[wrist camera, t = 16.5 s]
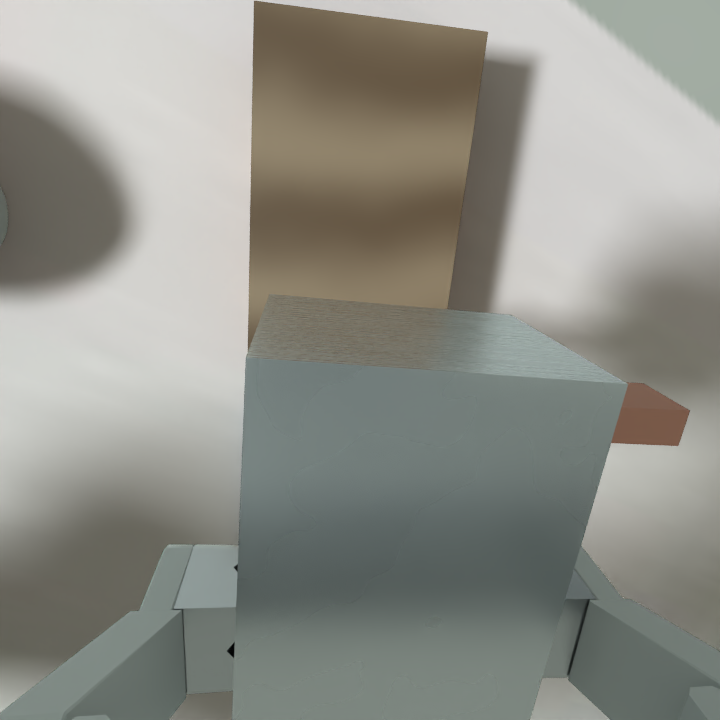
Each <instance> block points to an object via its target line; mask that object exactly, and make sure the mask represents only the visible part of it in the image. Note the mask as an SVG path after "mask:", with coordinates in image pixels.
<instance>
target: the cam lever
mask: <svg viewBox="0 0 720 720" xmlns="http://www.w3.org/2000/svg"><path fill="white" fill-rule="evenodd" d="M626 383H627V382H626ZM627 384H628V386H627V390H626V393H625V397H624V400H623V403H622V407H621V410H620V414H619V417H618V421H617V424H616V427H615V431H614V434H613V438H612V441H611V443H625V444H647V445H670V446H678V445H679V442H680V439H681V436H682V433H683V430H684V427H685V424H686V421H687V418H688V415H689V412H690V410H688V409H686V408H684V407H683V406H681V405H679V404H678V403H676V402H674V401H673V400H671V399H669V398H667V397H666V396H664V395H662V394H661V393H659V392H657V391H655V390H654V389H652V388H650V387H649V386H647V385H645V384H644V383H627Z"/></svg>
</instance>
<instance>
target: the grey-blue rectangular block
mask: <svg viewBox="0 0 720 720" xmlns="http://www.w3.org/2000/svg"><path fill="white" fill-rule="evenodd" d="M627 386H628V384H627V383H626V382H624V381H622V380H621V379H619V378H617V377H616V376H614V375H612V374H610V373H609V372H607V371H605V370H604V369H602V368H600V367H599V366H597V365H595V364H594V363H592V362H590V361H588V360H587V359H585V358H583V357H582V356H580V355H578V354H577V353H575V352H573V351H572V350H570V349H568V348H566V347H565V346H563V345H561V344H560V343H558V342H556V341H555V340H553V339H551V338H550V337H548V336H546V335H544V334H543V333H541V332H539V331H538V330H536V329H534V328H533V327H531V326H529V325H528V324H526V323H524V322H522V321H521V320H519V319H517V318H516V317H514V316H512V315H507V314H495V313H484V312H472V311H461V310H449V309H437V308H426V307H414V306H403V305H391V304H380V303H368V302H356V301H345V300H333V299H322V298H310V297H299V296H287V295H276V294H269V297H268V299H267V302H266V305H265V307H264V310H263V313H262V315H261V318H260V321H259V323H258V326H257V329H256V332H255V334H254V337H253V340H252V342H251V345H250V348H249V350H248V353H247V356H246V368H245V394H244V419H243V445H242V471H241V496H240V522H239V547H238V573H237V599H236V624H235V650H234V675H233V701H232V720H530V717H531V714H532V711H533V707H534V704H535V700H536V697H537V694H538V690H539V687H540V683H541V680H542V677H543V673H544V670H545V666H546V663H547V659H548V656H549V653H550V649H551V646H552V642H553V639H554V636H555V632H556V629H557V625H558V622H559V619H560V615H561V612H562V608H563V605H564V601H565V598H566V595H567V591H568V588H569V584H570V581H571V578H572V574H573V571H574V567H575V564H576V560H577V557H578V554H579V550H580V547H581V543H582V540H583V537H584V533H585V530H586V526H587V523H588V520H589V516H590V513H591V509H592V506H593V502H594V499H595V496H596V492H597V489H598V485H599V482H600V479H601V475H602V472H603V468H604V465H605V462H606V458H607V455H608V451H609V448H610V444H611V441H612V438H613V434H614V431H615V427H616V424H617V421H618V417H619V414H620V410H621V407H622V403H623V400H624V397H625V393H626V390H627Z"/></svg>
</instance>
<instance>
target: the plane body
mask: <svg viewBox="0 0 720 720" xmlns="http://www.w3.org/2000/svg"><path fill="white" fill-rule="evenodd" d="M487 35H488V32H485V31H477V30H470V29H462V28H455V27H447V26H440V25H432V24H425V23H417V22H410V21H402V20H395V19H387V18H380V17H372V16H365V15H358V14H350V13H343V12H335V11H328V10H320V9H313V8H305V7H298V6H290V5H283V4H275V3H268V2H260V1H254V34H253V91H252V148H251V205H250V261H249V318H248V350H249V348H250V345H251V342H252V340H253V337H254V334H255V332H256V329H257V326H258V323H259V321H260V318H261V315H262V313H263V310H264V307H265V305H266V302H267V299H268V297H269V294H276V295H287V296H299V297H310V298H322V299H333V300H345V301H356V302H368V303H380V304H391V305H403V306H414V307H426V308H437V309H447V307H448V300H449V294H450V287H451V280H452V273H453V266H454V260H455V253H456V246H457V239H458V232H459V226H460V219H461V212H462V205H463V198H464V192H465V185H466V178H467V171H468V164H469V158H470V151H471V144H472V137H473V131H474V124H475V117H476V110H477V103H478V97H479V90H480V83H481V76H482V69H483V63H484V56H485V49H486V42H487Z"/></svg>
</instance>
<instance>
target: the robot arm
mask: <svg viewBox="0 0 720 720" xmlns="http://www.w3.org/2000/svg"><path fill="white" fill-rule="evenodd" d="M238 547H239V545H202V544H196V545H168V546H167V547H166V548H165V549H164V550H163V552H162V555H161V557H160V560H159V562H158V565H157V567H156V570H155V572H154V575H153V577H152V580H151V582H150V585H149V587H148V590H147V592H146V595H145V597H144V600H143V602H142V604H141V607H140V609H139V611H130V612H129V613H127V614H126V615H125V616H123V617H122V618H121V619H120V620H118V621H117V622H116V623H115V624H113V625H112V626H111V627H109V628H108V629H107V630H106V631H104V632H103V633H102V634H100V635H99V636H98V637H97V638H95V639H94V640H93V641H91V642H90V643H89V644H88V645H86V646H85V647H84V648H82V649H81V650H80V651H79V652H77V653H76V654H75V655H74V656H72V657H71V658H70V659H68V660H67V661H66V662H65V663H63V664H62V665H61V666H59V667H58V668H57V669H56V670H54V671H53V672H52V673H50V674H49V675H48V676H47V677H45V678H44V679H43V680H41V681H40V682H39V683H38V684H36V685H35V686H34V687H33V688H31V689H30V690H29V691H27V692H26V693H25V694H24V695H22V696H21V697H20V698H18V699H17V700H16V701H15V702H13V703H12V704H11V705H9V706H8V707H7V708H6V709H4V710H3V711H2V712H0V720H169V719H170V717H171V716H172V715H173V714H174V712H175V711H176V710H177V709H178V707H179V706H180V705H181V704H182V702H183V701H184V700H185V698H186V694H197V693H211V692H224V691H233V675H234V650H235V624H236V599H237V573H238ZM542 678H569V679H568V680H569V681H570V682H571V683H572V684H573V685H574V686H575V687H576V688H577V689H578V690H579V691H581V692H582V693H583V694H584V695H585V696H586V697H587V698H588V699H589V700H590V701H591V702H592V703H593V704H594V705H595V706H597V707H598V708H599V709H600V710H601V711H602V712H603V713H604V714H605V715H606V716H607V717H608V718H609V719H610V720H720V651H718V650H716V649H715V648H713V647H711V646H710V645H708V644H706V643H705V642H703V641H701V640H699V639H698V638H696V637H694V636H693V635H691V634H689V633H688V632H686V631H684V630H682V629H681V628H679V627H677V626H676V625H674V624H672V623H671V622H669V621H667V620H665V619H664V618H662V617H660V616H659V615H657V614H655V613H654V612H652V611H650V610H648V609H647V608H645V607H643V606H642V605H640V604H638V603H636V602H635V601H633V600H631V599H623V598H622V597H621V596H620V594H619V593H618V592H617V591H616V589H615V588H614V587H613V586H612V584H611V583H610V582H609V580H608V579H607V578H606V577H605V575H604V574H603V573H602V572H601V570H600V569H599V568H598V567H597V565H596V564H595V563H594V561H593V560H592V559H591V558H590V556H589V555H588V554H587V553H586V551H585V550H584V549H583V548H582V546H581V547H580V550H579V554H578V557H577V560H576V564H575V567H574V571H573V574H572V578H571V581H570V584H569V588H568V591H567V595H566V598H565V601H564V605H563V608H562V612H561V615H560V619H559V622H558V625H557V629H556V632H555V636H554V639H553V642H552V646H551V649H550V653H549V656H548V659H547V663H546V666H545V670H544V673H543V677H542Z"/></svg>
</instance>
